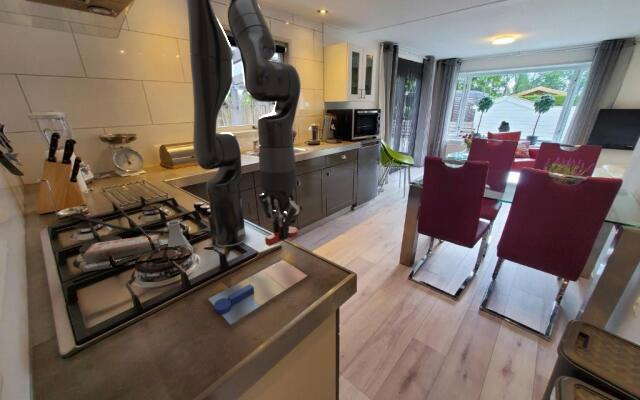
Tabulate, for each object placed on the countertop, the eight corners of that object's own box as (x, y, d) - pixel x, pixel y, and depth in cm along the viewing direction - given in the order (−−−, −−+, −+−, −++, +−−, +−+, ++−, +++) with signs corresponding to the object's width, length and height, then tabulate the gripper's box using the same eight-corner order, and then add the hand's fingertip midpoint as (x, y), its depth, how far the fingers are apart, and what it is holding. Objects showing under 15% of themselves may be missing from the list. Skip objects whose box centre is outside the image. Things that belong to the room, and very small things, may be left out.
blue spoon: (248, 288, 59) (247, 281, 58) (256, 295, 57) (256, 288, 56) (211, 308, 53) (210, 301, 52) (219, 317, 51) (218, 310, 50)
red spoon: (271, 248, 56) (271, 241, 56) (263, 242, 58) (262, 235, 58) (300, 234, 62) (300, 228, 62) (291, 229, 64) (291, 223, 64)
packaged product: (76, 257, 62) (93, 238, 70) (83, 274, 64) (98, 253, 72) (160, 244, 68) (166, 228, 77) (164, 259, 70) (169, 241, 78)
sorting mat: (230, 327, 49) (230, 324, 49) (208, 300, 56) (208, 298, 55) (307, 277, 64) (307, 275, 63) (282, 261, 70) (282, 259, 70)
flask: (191, 244, 77) (185, 214, 74) (196, 255, 72) (190, 224, 68) (164, 251, 73) (156, 221, 70) (167, 263, 68) (159, 231, 64)
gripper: (312, 169, 52) (312, 242, 58) (272, 159, 61) (276, 223, 67) (284, 176, 47) (287, 255, 53) (245, 164, 55) (251, 233, 62)
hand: (281, 237), depth 60 cm, fingers closed on red spoon, 1 cm apart
